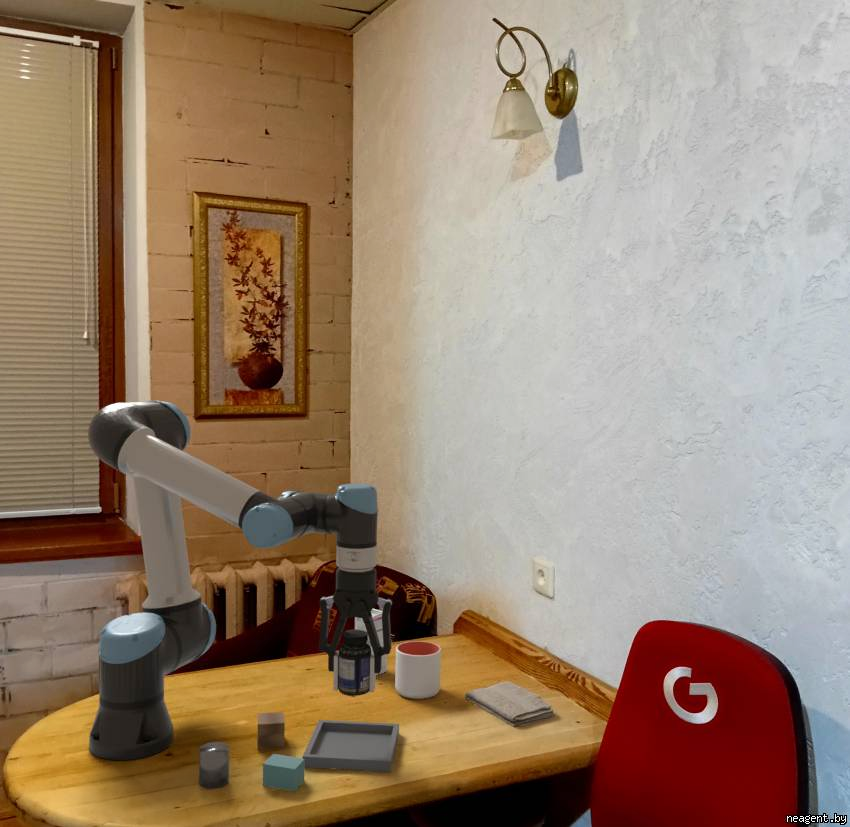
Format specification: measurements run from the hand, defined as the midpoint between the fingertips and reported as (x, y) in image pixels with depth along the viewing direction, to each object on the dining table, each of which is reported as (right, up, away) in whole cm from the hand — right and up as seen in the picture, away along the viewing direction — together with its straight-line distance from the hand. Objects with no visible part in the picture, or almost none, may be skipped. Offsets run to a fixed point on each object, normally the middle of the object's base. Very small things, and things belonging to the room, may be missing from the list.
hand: (354, 688), depth 162 cm
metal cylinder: (-23, -12, -13) cm, 29 cm away
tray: (0, -12, +1) cm, 12 cm away
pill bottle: (0, -1, 0) cm, 1 cm away
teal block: (-11, -13, -13) cm, 21 cm away
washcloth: (+31, -12, +23) cm, 41 cm away
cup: (+12, -11, +30) cm, 34 cm away
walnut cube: (-16, -11, +3) cm, 20 cm away
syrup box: (0, -10, +42) cm, 43 cm away
